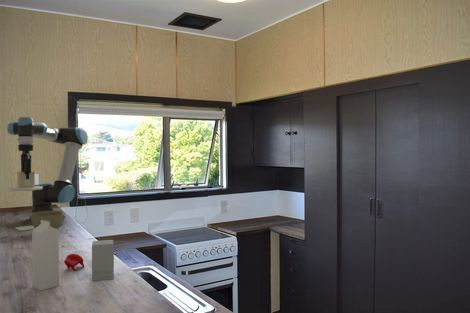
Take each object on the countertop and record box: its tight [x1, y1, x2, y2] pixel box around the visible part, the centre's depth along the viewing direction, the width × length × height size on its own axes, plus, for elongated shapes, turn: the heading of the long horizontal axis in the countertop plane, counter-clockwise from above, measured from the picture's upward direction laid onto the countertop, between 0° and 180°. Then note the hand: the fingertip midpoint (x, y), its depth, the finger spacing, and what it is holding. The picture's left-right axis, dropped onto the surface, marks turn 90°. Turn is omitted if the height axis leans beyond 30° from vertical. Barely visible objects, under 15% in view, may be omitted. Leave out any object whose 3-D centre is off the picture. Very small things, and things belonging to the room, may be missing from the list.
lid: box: [8, 170, 43, 192], centre depth 225 cm, size 17×17×10 cm
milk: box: [31, 220, 60, 291], centre depth 131 cm, size 6×6×22 cm
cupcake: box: [58, 205, 66, 226], centre depth 236 cm, size 9×8×12 cm
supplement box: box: [91, 239, 115, 282], centre depth 140 cm, size 7×7×13 cm
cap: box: [63, 253, 85, 272], centre depth 150 cm, size 8×6×6 cm
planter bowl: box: [30, 210, 64, 230], centre depth 215 cm, size 16×16×11 cm
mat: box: [14, 224, 35, 232], centre depth 226 cm, size 11×10×1 cm
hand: (26, 184), depth 225 cm, fingers closed on lid, 4 cm apart
